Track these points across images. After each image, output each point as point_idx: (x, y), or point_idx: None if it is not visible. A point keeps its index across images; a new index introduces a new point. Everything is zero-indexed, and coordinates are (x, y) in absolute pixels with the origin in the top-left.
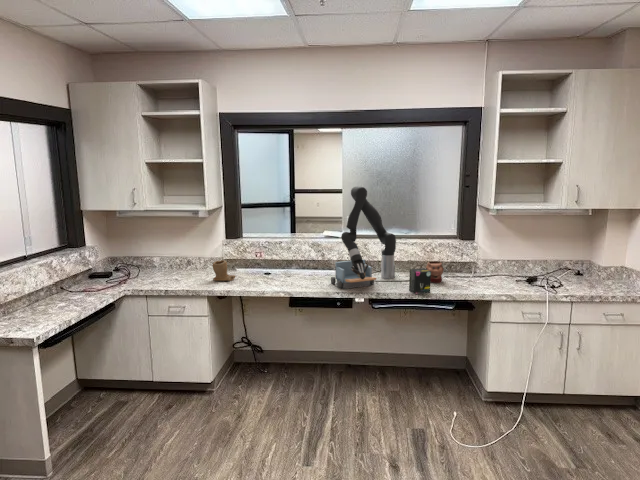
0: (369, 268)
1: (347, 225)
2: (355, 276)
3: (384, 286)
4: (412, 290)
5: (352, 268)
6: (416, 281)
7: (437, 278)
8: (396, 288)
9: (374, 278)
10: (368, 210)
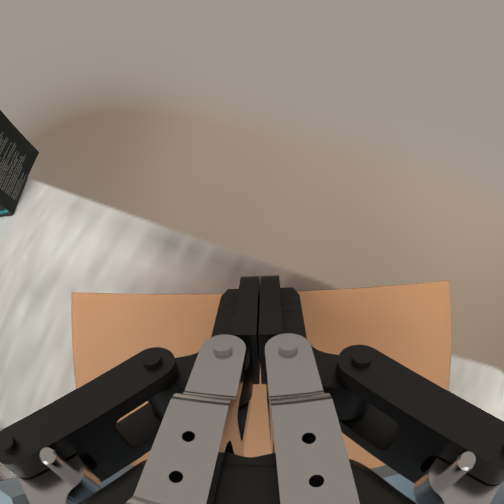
0: (26, 501)
1: None
2: None
3: (50, 362)
4: (21, 173)
5: (496, 423)
6: (1, 113)
7: None
8: (23, 280)
9: (95, 293)
10: None
